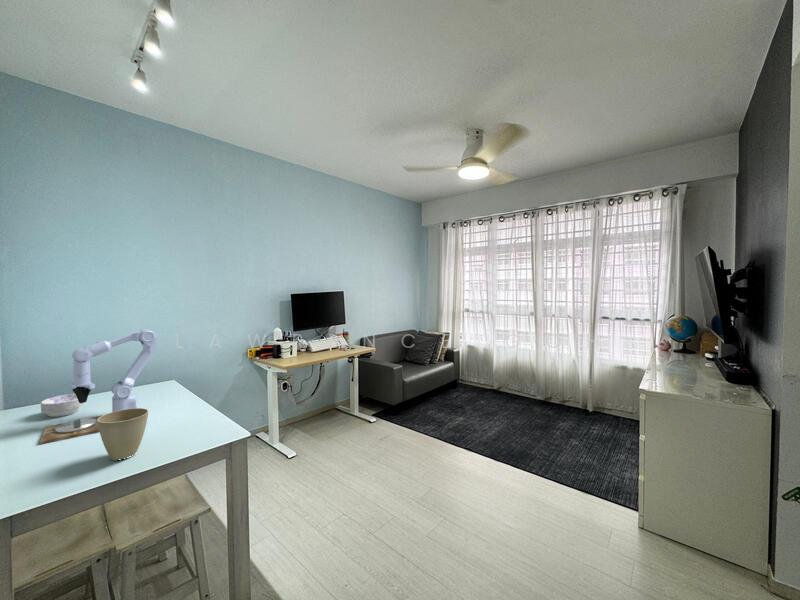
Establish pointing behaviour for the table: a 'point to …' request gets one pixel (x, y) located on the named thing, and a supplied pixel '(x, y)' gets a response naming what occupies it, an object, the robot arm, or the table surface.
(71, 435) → the plate
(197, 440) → the table surface
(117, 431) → the plant pot
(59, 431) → the dial
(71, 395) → the paper bowls
